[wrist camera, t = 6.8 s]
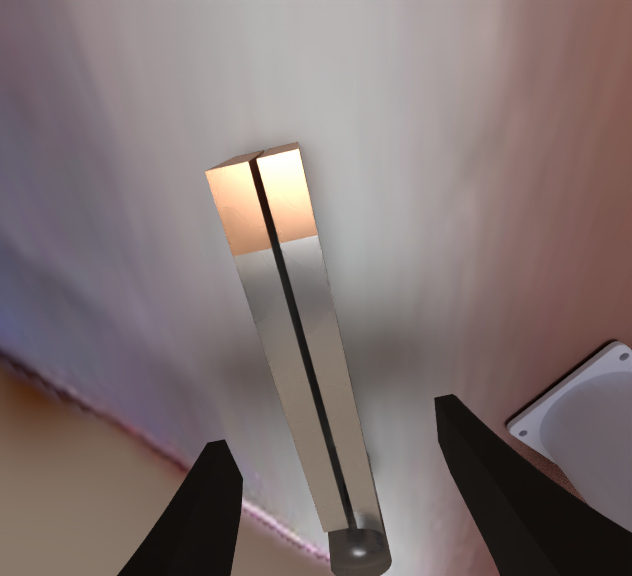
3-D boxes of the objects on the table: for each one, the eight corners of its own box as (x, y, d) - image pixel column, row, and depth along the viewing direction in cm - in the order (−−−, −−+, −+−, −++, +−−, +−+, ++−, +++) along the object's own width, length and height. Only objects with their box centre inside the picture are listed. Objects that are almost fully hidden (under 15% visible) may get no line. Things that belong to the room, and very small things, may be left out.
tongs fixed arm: (372, 471, 23) (394, 575, 17) (327, 480, 23) (337, 585, 18) (300, 141, 14) (302, 150, 9) (228, 158, 14) (189, 176, 9)
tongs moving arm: (337, 441, 21) (348, 527, 16) (317, 445, 21) (323, 532, 16) (263, 150, 14) (248, 161, 9) (234, 156, 14) (205, 171, 9)
